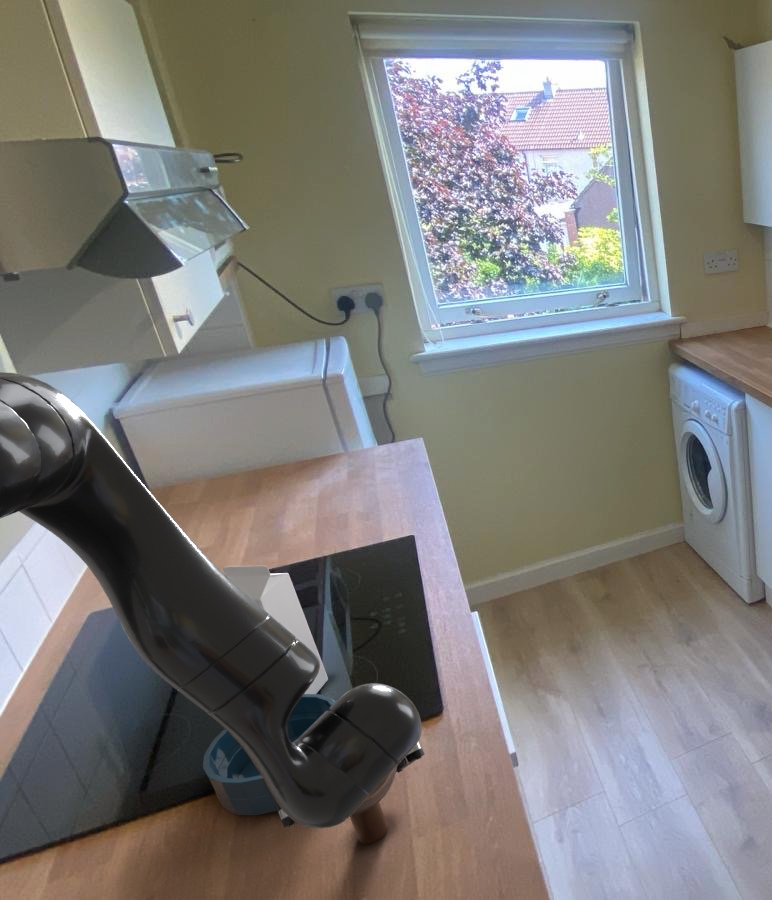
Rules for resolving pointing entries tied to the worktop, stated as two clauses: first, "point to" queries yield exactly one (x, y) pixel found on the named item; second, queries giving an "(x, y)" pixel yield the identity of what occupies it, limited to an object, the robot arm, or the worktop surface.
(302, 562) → the worktop surface
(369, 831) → the brown tall cylinder
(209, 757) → the bowl
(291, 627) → the milk
